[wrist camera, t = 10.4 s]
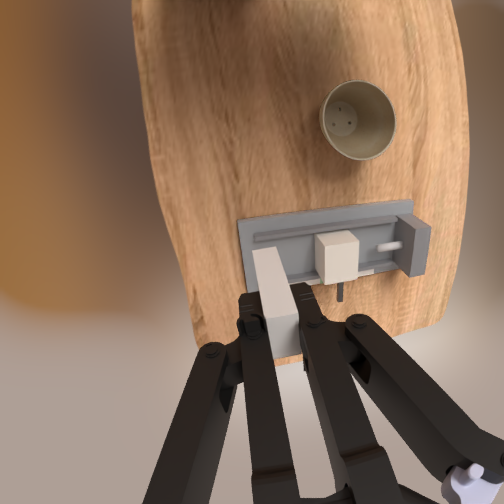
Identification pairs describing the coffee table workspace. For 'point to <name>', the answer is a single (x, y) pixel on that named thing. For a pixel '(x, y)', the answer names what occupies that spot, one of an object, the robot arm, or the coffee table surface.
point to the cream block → (336, 257)
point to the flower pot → (358, 120)
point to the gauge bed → (334, 218)
